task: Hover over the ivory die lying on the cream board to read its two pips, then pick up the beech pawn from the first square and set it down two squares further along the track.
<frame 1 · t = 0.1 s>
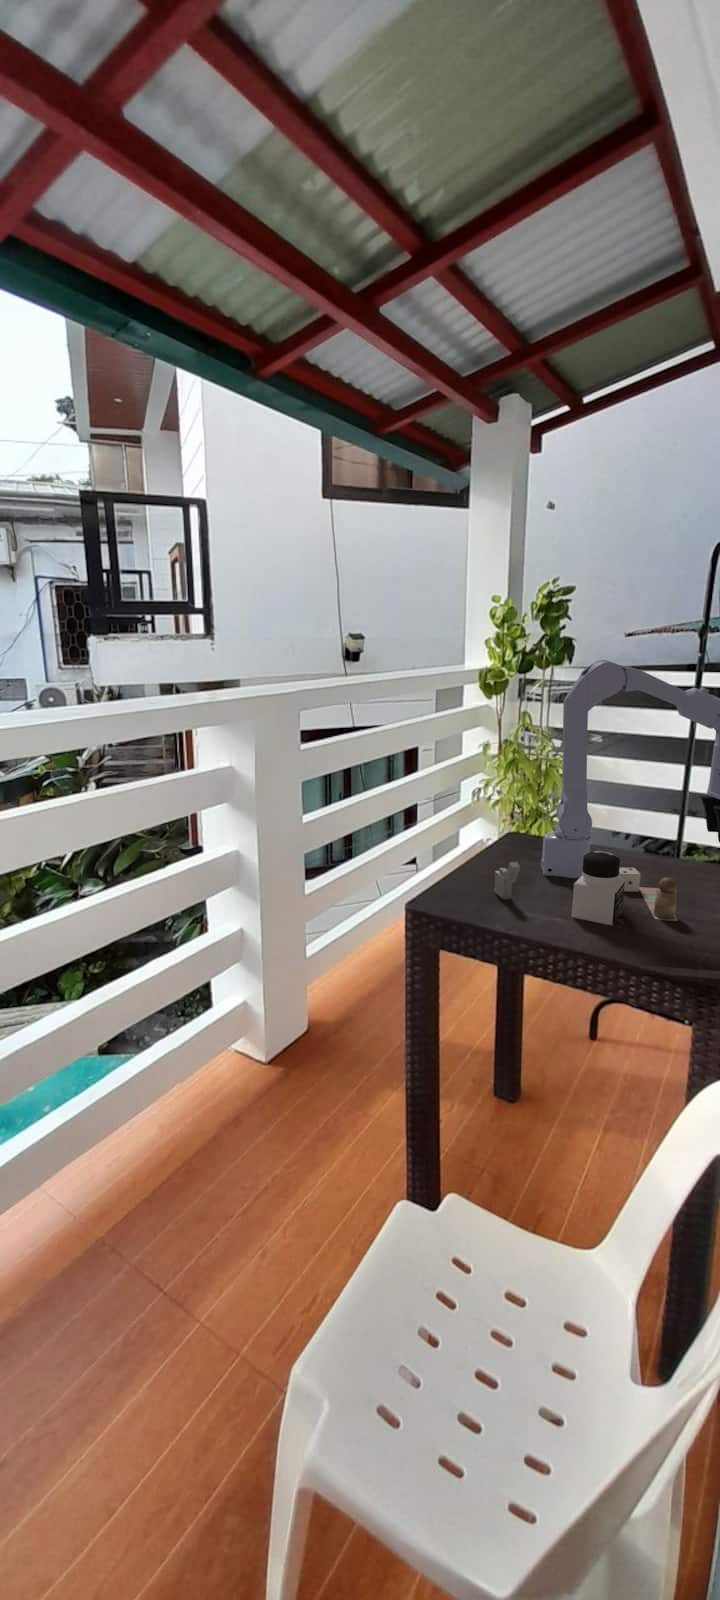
hand: (719, 837, 137), 10 cm above the table, tool pointing down, fingers open, 7 cm apart
grey notched upright piece: (505, 899, 134), on the table
board: (644, 906, 129), on the table
pawn: (664, 915, 123), point 1 cm above the table, touching board
die: (626, 888, 136), point 1 cm above the table, touching board
medicine bottle: (596, 920, 124), on the table
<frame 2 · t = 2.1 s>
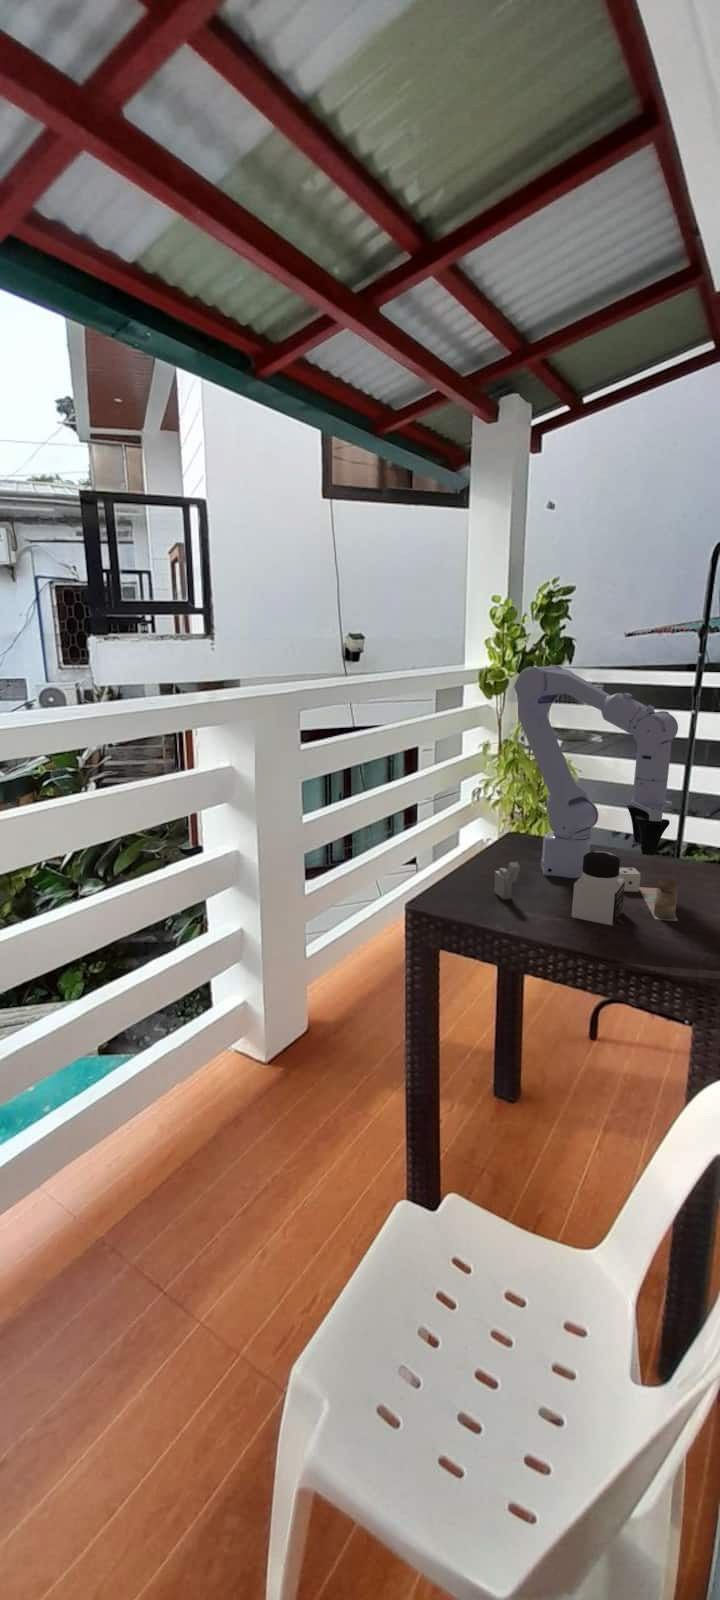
hand: (644, 848, 133), 9 cm above the table, tool pointing down, fingers open, 7 cm apart
nothing on the table moved.
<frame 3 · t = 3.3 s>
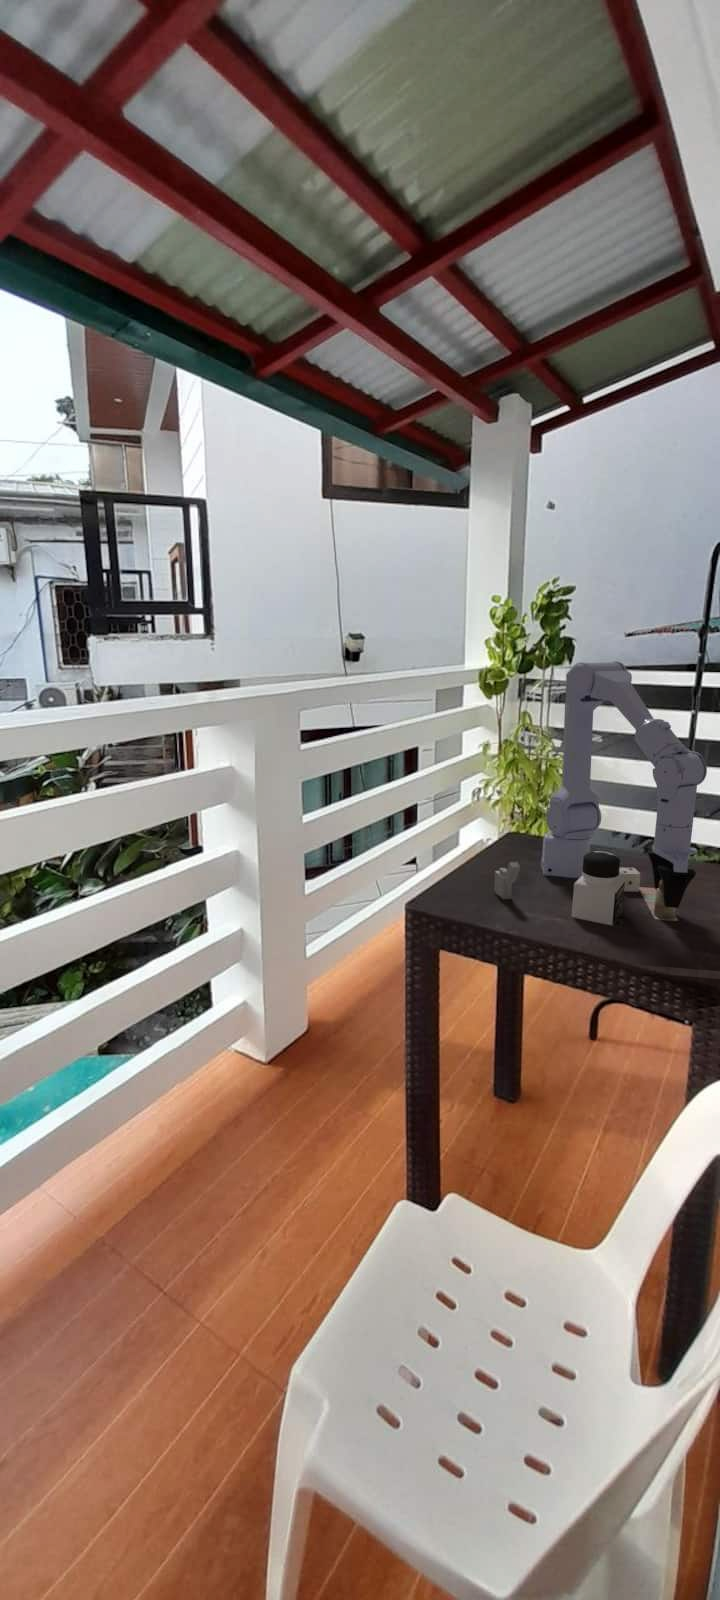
hand: (666, 898, 122), 4 cm above the table, tool pointing down, fingers open, 7 cm apart
nothing on the table moved.
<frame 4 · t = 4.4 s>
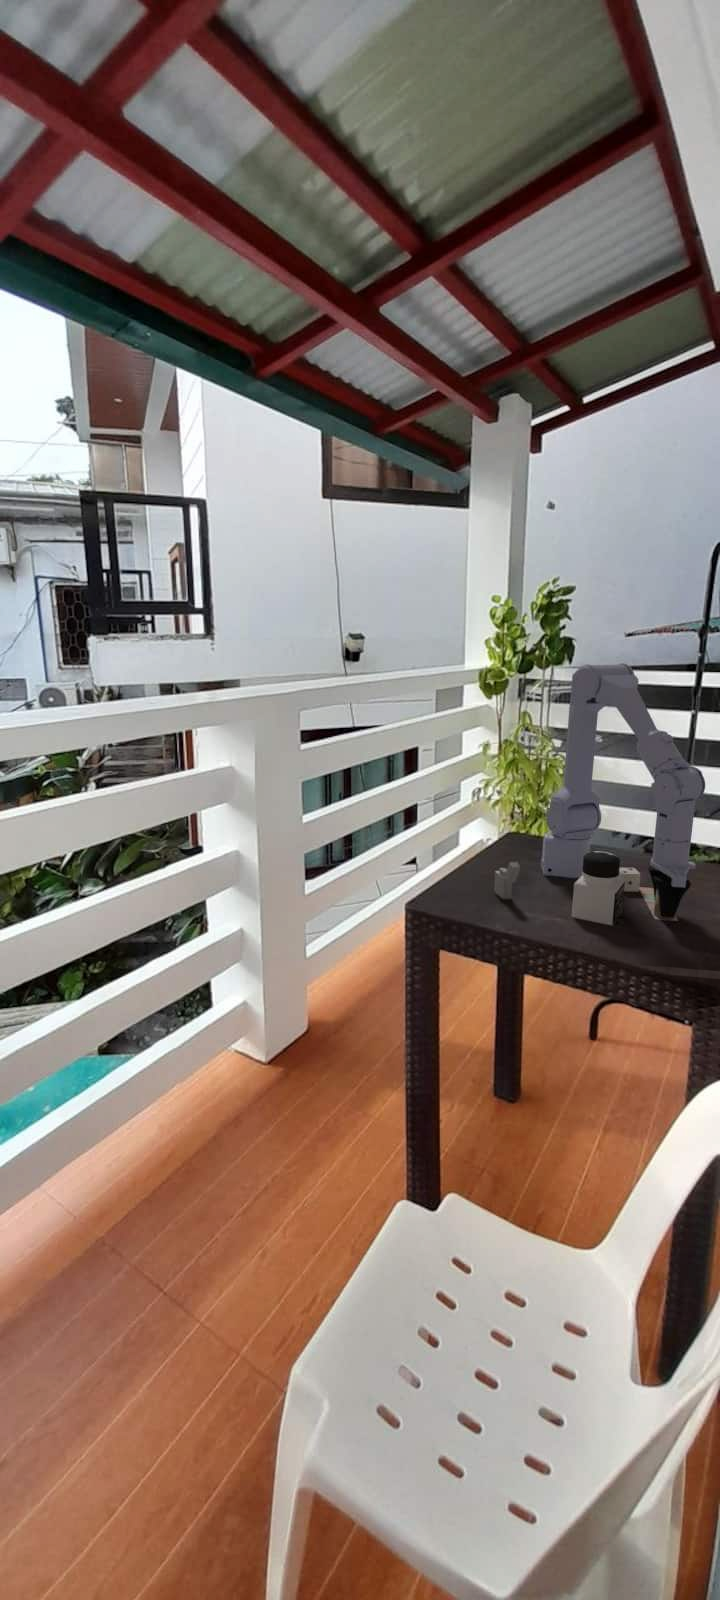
hand: (664, 911, 123), 2 cm above the table, tool pointing down, fingers closed on pawn, 3 cm apart
pawn: (664, 915, 123), point 1 cm above the table, touching board, gripper
everything else where it was.
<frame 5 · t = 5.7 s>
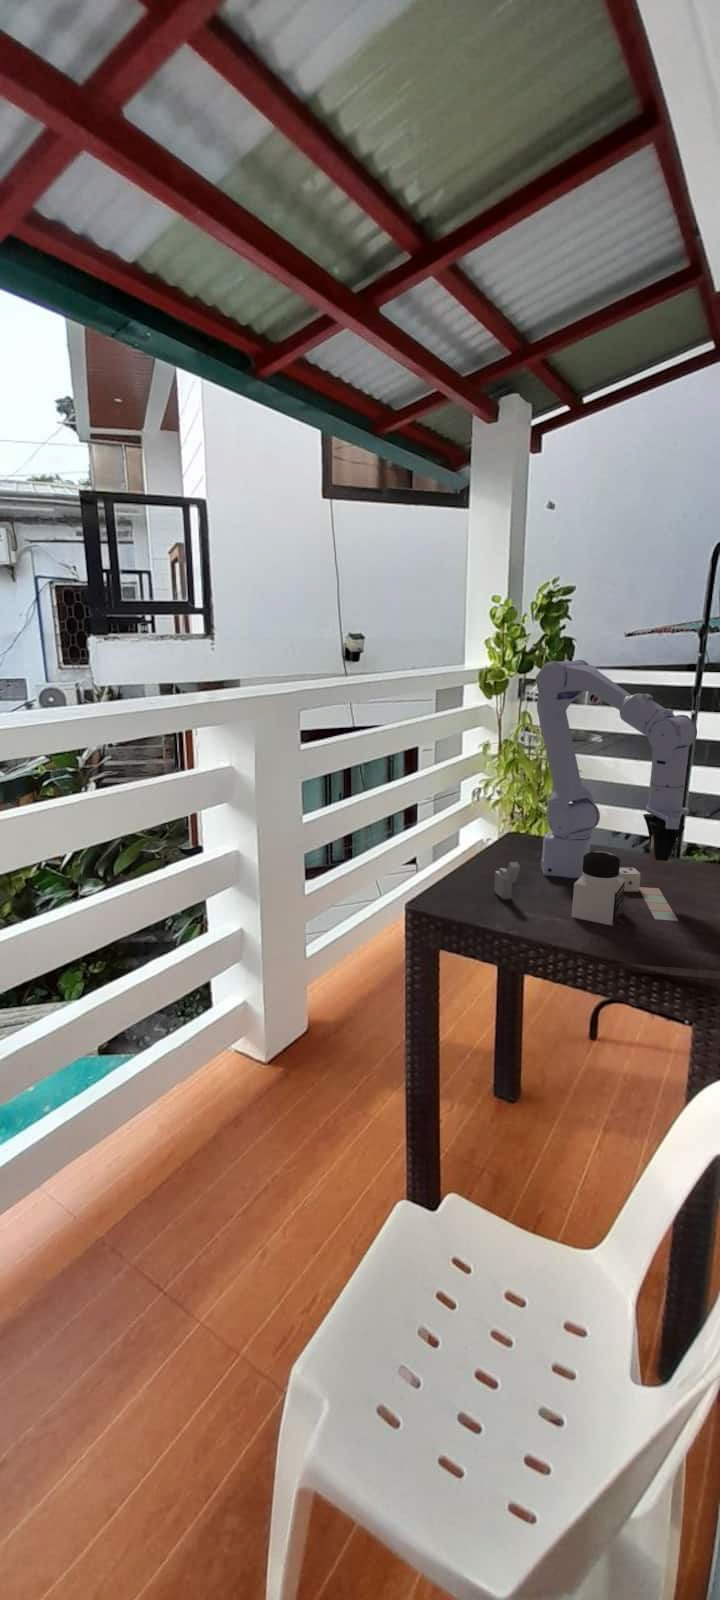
hand: (659, 856, 128), 9 cm above the table, tool pointing down, fingers closed on pawn, 3 cm apart
pawn: (659, 860, 128), point 9 cm above the table, touching gripper
everything else where it was.
when the fingers open (2 cm above the table, at t = 7.5 s): pawn stays where it is, resting on board.
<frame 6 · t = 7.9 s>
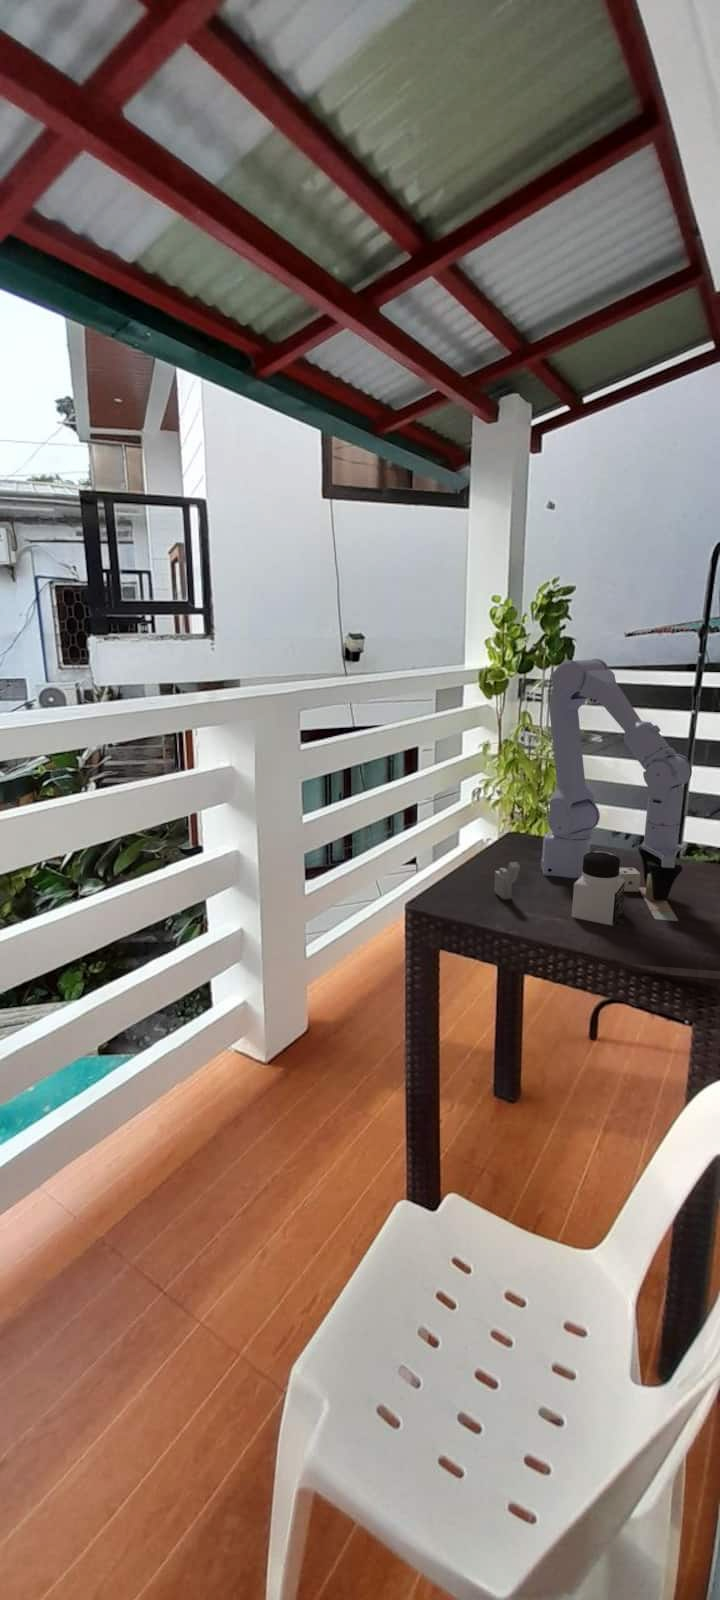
hand: (655, 892, 130), 2 cm above the table, tool pointing down, fingers open, 7 cm apart
pawn: (655, 898, 130), point 1 cm above the table, touching board
everything else where it was.
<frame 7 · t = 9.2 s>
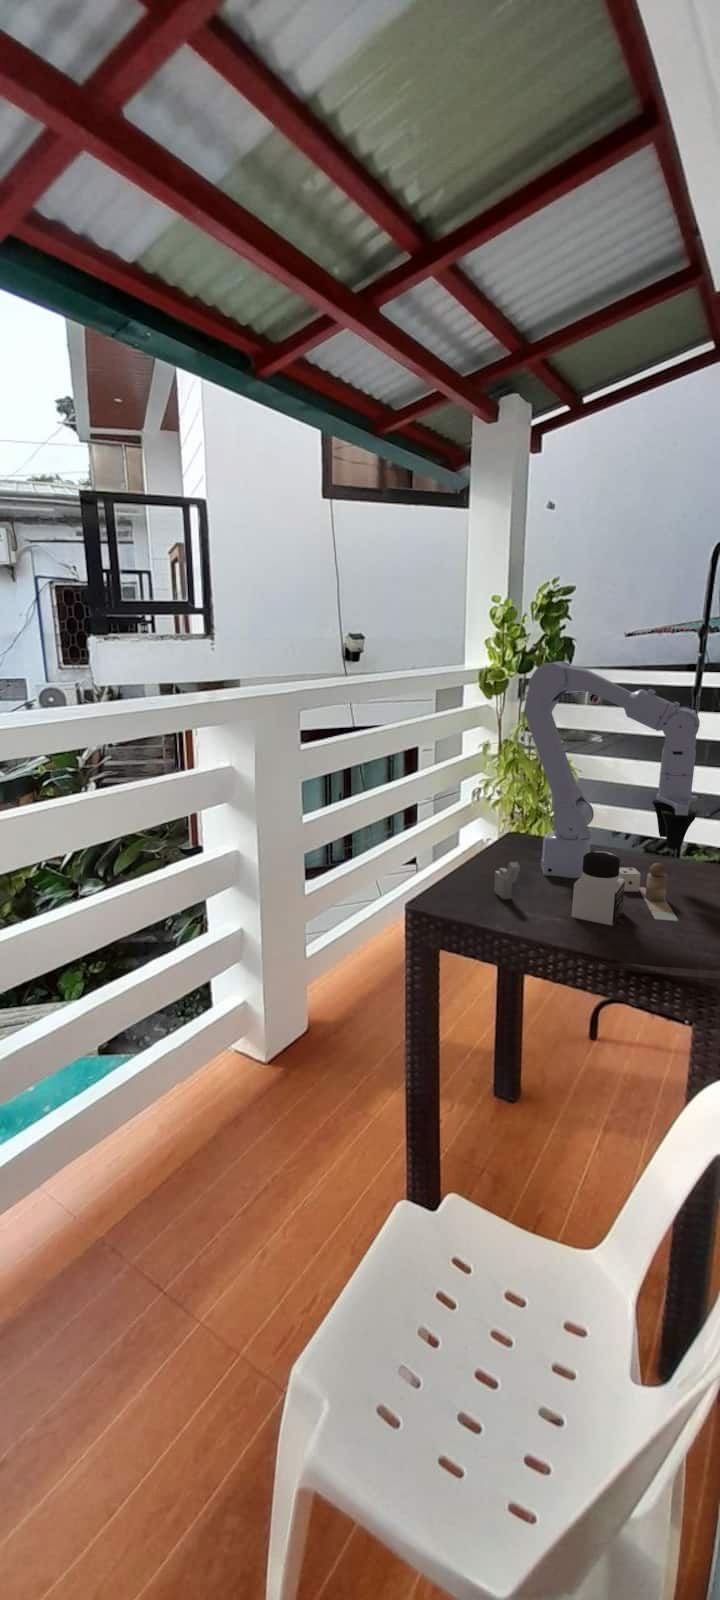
hand: (669, 842, 135), 10 cm above the table, tool pointing down, fingers open, 7 cm apart
nothing on the table moved.
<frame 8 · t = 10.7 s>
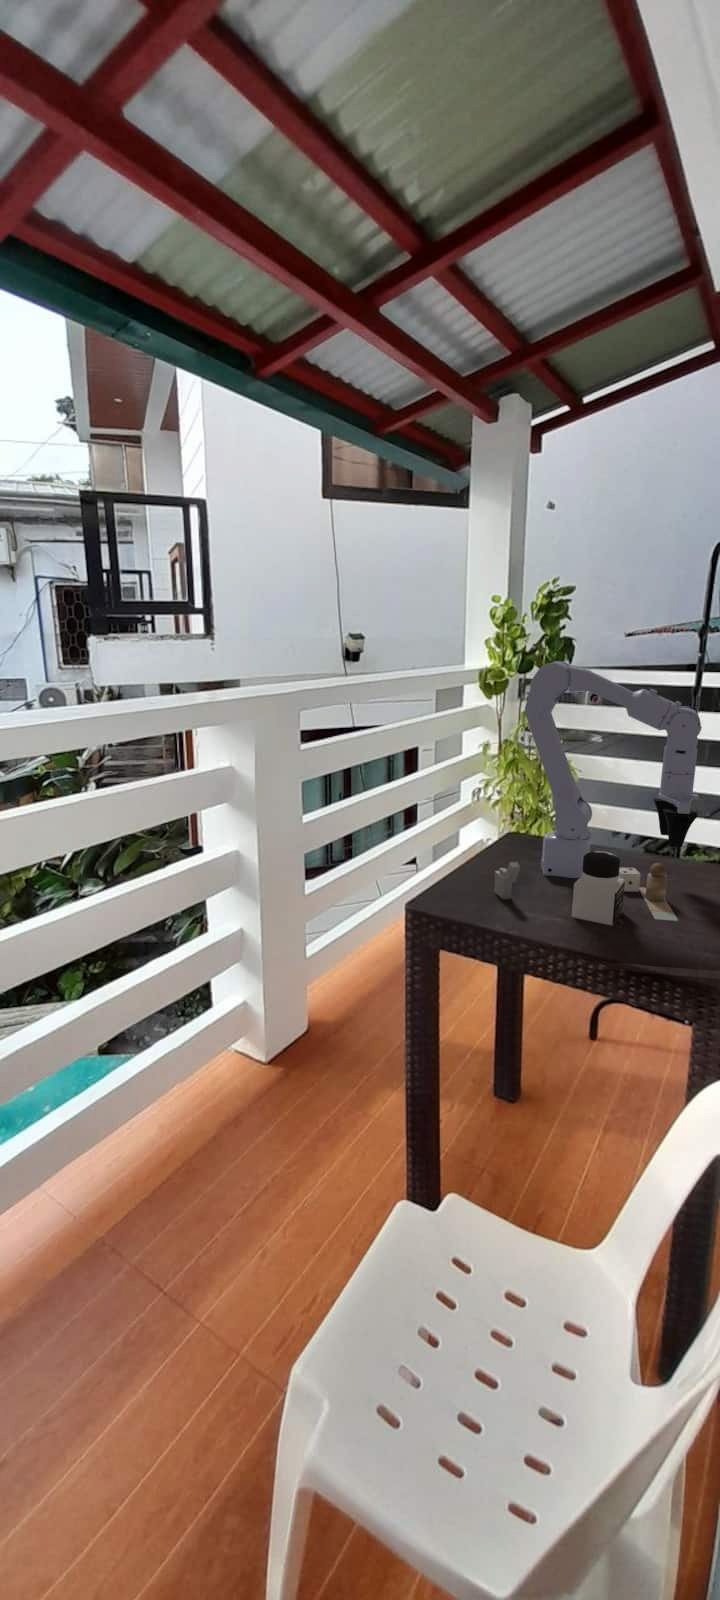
hand: (670, 840, 136), 10 cm above the table, tool pointing down, fingers open, 7 cm apart
nothing on the table moved.
at the end: pawn 0.1 cm from the target spot, point 0.9 cm above the table; pawn tilted 1°; the gripper is holding nothing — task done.
